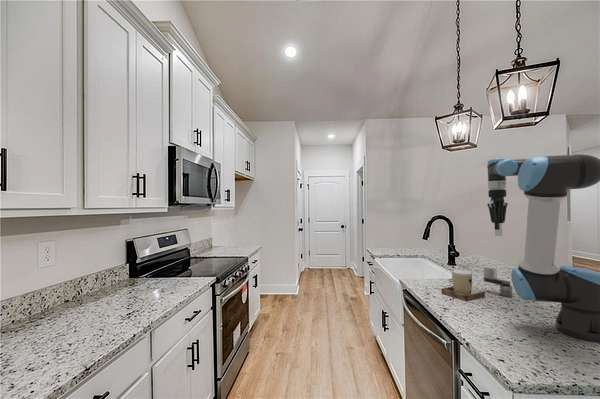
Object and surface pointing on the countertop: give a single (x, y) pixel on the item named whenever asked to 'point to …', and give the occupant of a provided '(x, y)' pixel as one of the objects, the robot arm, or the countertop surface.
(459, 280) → the coffee cup
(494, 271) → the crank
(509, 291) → the pedestal
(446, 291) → the brown u-shaped wooden bracket
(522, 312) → the countertop surface
